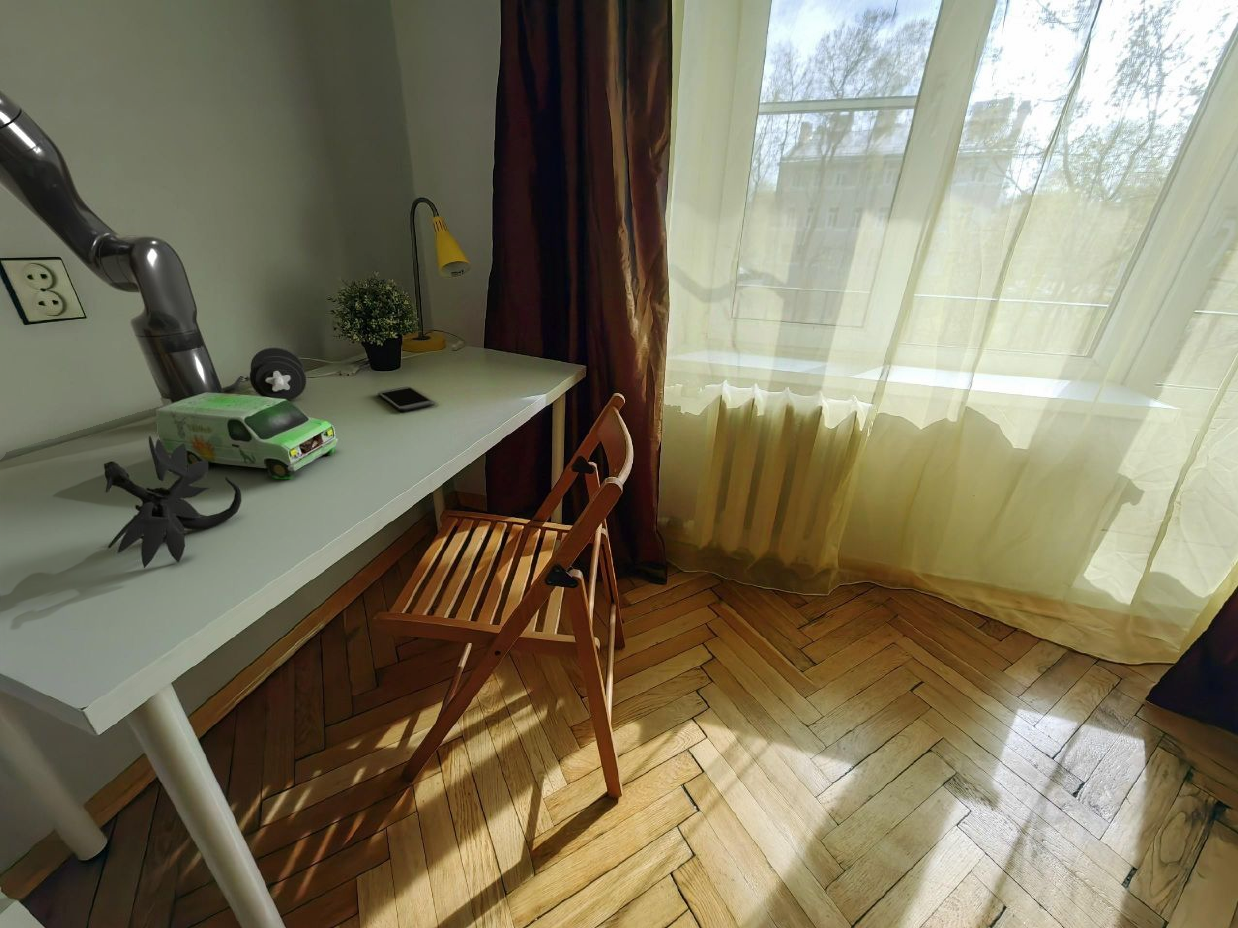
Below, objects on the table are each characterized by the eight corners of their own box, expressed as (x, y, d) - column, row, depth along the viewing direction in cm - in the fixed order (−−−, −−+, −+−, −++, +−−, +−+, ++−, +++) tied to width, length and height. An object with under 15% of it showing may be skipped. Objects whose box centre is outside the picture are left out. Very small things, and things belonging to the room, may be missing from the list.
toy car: (297, 482, 75) (277, 421, 70) (166, 466, 79) (139, 408, 75) (345, 452, 84) (330, 397, 80) (225, 440, 89) (204, 387, 84)
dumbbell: (314, 406, 105) (300, 360, 100) (258, 414, 100) (241, 367, 95) (307, 380, 121) (295, 339, 116) (258, 386, 116) (244, 344, 111)
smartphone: (409, 388, 115) (408, 384, 115) (436, 405, 105) (435, 401, 105) (376, 395, 111) (376, 391, 110) (401, 413, 101) (400, 409, 100)
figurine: (212, 589, 63) (215, 564, 55) (73, 577, 56) (55, 547, 48) (250, 478, 70) (257, 444, 63) (132, 455, 63) (124, 414, 56)
